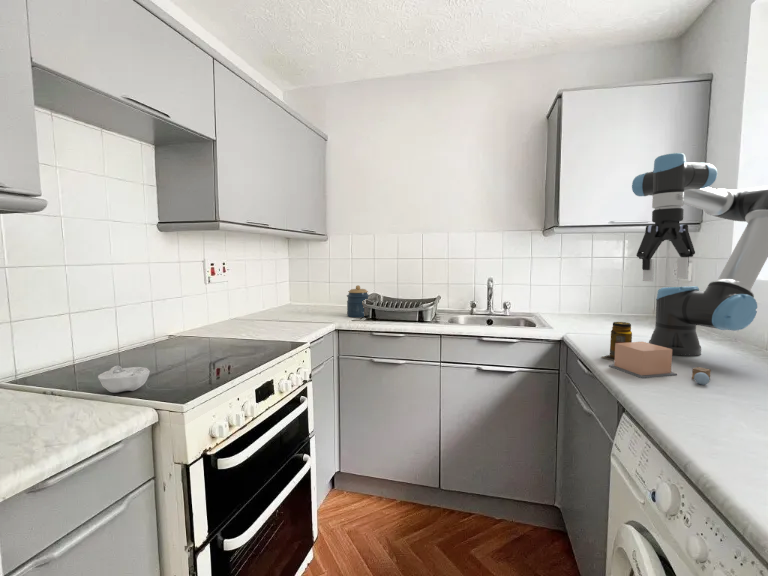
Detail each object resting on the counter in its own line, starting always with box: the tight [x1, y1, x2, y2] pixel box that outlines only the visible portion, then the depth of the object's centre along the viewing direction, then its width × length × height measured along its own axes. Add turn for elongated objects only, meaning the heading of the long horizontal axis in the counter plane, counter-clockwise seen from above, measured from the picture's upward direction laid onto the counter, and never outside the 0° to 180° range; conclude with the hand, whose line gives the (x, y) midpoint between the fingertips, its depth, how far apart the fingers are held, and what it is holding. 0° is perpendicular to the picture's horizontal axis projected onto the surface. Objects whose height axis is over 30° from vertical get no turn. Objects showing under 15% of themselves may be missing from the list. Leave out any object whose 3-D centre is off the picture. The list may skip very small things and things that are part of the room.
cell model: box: [97, 365, 151, 393], centre depth 102 cm, size 10×12×7 cm
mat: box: [608, 364, 678, 379], centre depth 116 cm, size 12×12×1 cm
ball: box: [693, 372, 710, 386], centre depth 103 cm, size 3×3×3 cm
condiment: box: [601, 321, 633, 362], centre depth 129 cm, size 7×8×12 cm
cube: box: [691, 366, 712, 381], centre depth 107 cm, size 3×3×3 cm
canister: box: [346, 285, 370, 318], centre depth 221 cm, size 13×13×18 cm
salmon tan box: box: [613, 341, 673, 375], centre depth 116 cm, size 10×10×7 cm
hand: (665, 279), depth 117 cm, fingers open, 13 cm apart
